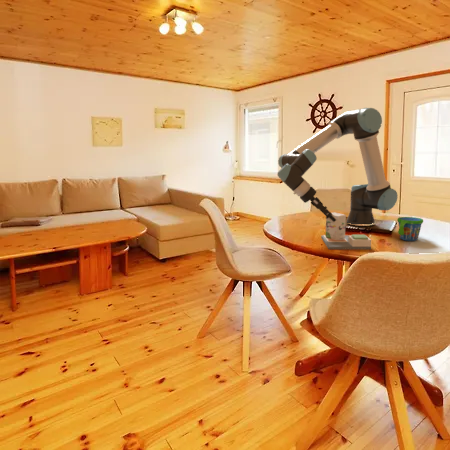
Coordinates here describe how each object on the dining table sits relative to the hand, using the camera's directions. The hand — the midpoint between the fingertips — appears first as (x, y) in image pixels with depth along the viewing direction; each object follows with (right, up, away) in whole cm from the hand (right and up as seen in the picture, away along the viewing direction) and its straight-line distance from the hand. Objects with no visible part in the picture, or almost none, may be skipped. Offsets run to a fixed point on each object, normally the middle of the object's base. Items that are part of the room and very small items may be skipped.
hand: (336, 222), depth 169 cm
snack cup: (+34, -8, +1) cm, 35 cm away
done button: (+7, -8, -10) cm, 15 cm away
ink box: (0, -8, +2) cm, 8 cm away
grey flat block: (+3, -10, -2) cm, 10 cm away
